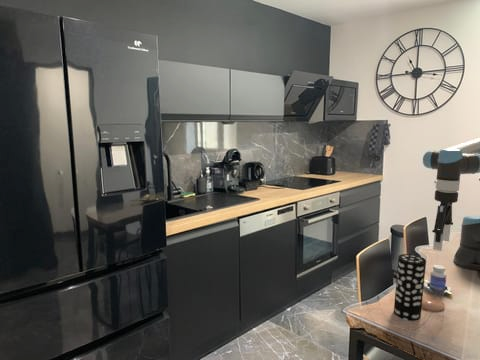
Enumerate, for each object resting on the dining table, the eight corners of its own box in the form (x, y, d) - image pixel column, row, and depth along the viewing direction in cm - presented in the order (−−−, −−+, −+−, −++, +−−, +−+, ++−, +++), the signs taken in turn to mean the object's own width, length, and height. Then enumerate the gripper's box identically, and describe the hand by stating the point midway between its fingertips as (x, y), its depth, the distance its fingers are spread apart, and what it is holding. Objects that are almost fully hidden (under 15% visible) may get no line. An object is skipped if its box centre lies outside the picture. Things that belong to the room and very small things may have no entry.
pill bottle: (447, 294, 133) (449, 270, 132) (431, 292, 134) (434, 269, 133) (441, 287, 139) (444, 264, 137) (427, 286, 140) (429, 263, 138)
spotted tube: (419, 323, 113) (425, 265, 110) (391, 316, 118) (396, 260, 114) (421, 312, 120) (427, 257, 117) (395, 305, 125) (400, 252, 121)
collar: (432, 281, 144) (432, 278, 144) (459, 295, 132) (460, 291, 132) (415, 285, 141) (415, 281, 140) (441, 299, 129) (442, 295, 129)
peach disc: (427, 295, 132) (427, 292, 132) (451, 308, 123) (451, 305, 123) (406, 299, 129) (407, 297, 129) (429, 313, 120) (429, 310, 120)
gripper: (442, 185, 142) (437, 235, 145) (427, 194, 123) (422, 251, 127) (463, 187, 137) (458, 239, 141) (451, 197, 118) (445, 256, 122)
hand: (441, 245), depth 134 cm, fingers open, 13 cm apart
